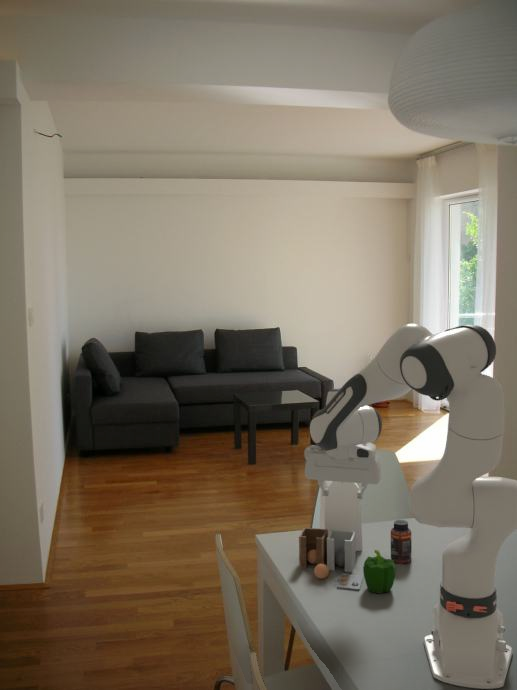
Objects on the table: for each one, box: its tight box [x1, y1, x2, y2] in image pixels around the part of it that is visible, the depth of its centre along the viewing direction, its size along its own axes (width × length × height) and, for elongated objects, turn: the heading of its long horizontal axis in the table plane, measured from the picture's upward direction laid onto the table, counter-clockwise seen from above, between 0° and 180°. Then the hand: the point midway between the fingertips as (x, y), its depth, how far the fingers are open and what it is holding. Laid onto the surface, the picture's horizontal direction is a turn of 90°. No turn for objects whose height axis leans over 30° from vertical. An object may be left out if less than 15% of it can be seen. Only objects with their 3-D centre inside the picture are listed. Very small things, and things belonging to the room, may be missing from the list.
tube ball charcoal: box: [334, 552, 345, 567], centre depth 200 cm, size 4×4×4 cm
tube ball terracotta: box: [307, 549, 317, 565], centre depth 202 cm, size 4×4×4 cm
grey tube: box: [326, 530, 357, 573], centre depth 200 cm, size 7×7×9 cm
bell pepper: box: [363, 549, 396, 594], centre depth 185 cm, size 8×8×10 cm
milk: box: [319, 481, 364, 552], centre depth 215 cm, size 12×12×26 cm
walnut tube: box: [298, 527, 328, 569], centre depth 202 cm, size 7×7×9 cm
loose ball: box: [314, 564, 330, 580], centre depth 193 cm, size 4×4×4 cm
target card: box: [336, 573, 364, 591], centre depth 190 cm, size 8×6×1 cm
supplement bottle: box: [390, 519, 413, 564], centre depth 203 cm, size 6×6×11 cm
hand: (342, 496), depth 190 cm, fingers open, 8 cm apart
